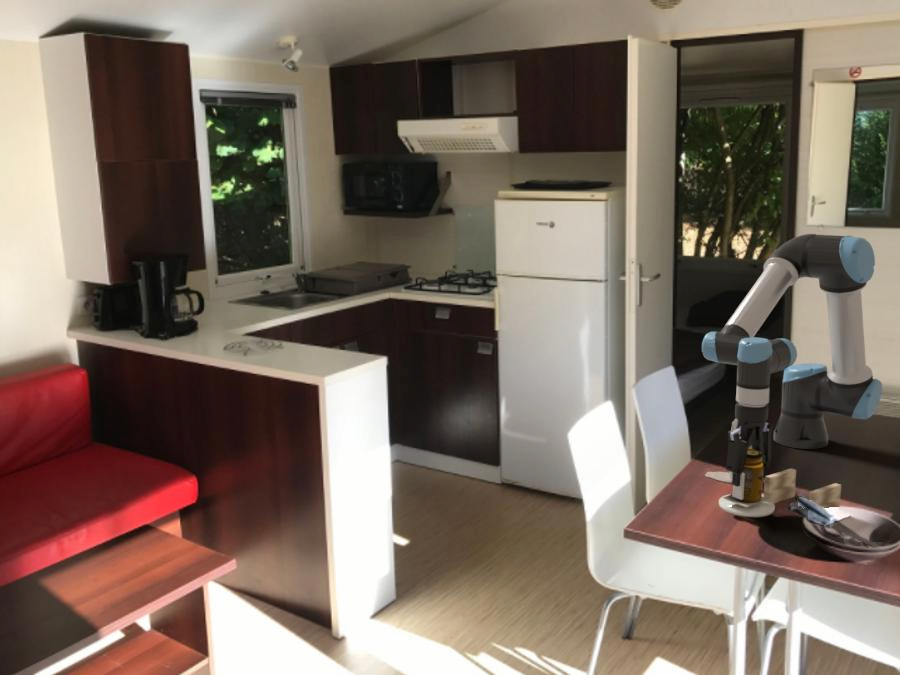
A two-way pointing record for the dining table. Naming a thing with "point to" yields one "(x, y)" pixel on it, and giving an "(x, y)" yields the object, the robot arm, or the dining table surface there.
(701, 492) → the dining table surface
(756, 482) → the condiment
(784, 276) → the robot arm
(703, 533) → the dining table surface
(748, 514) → the coaster
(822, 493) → the rack
